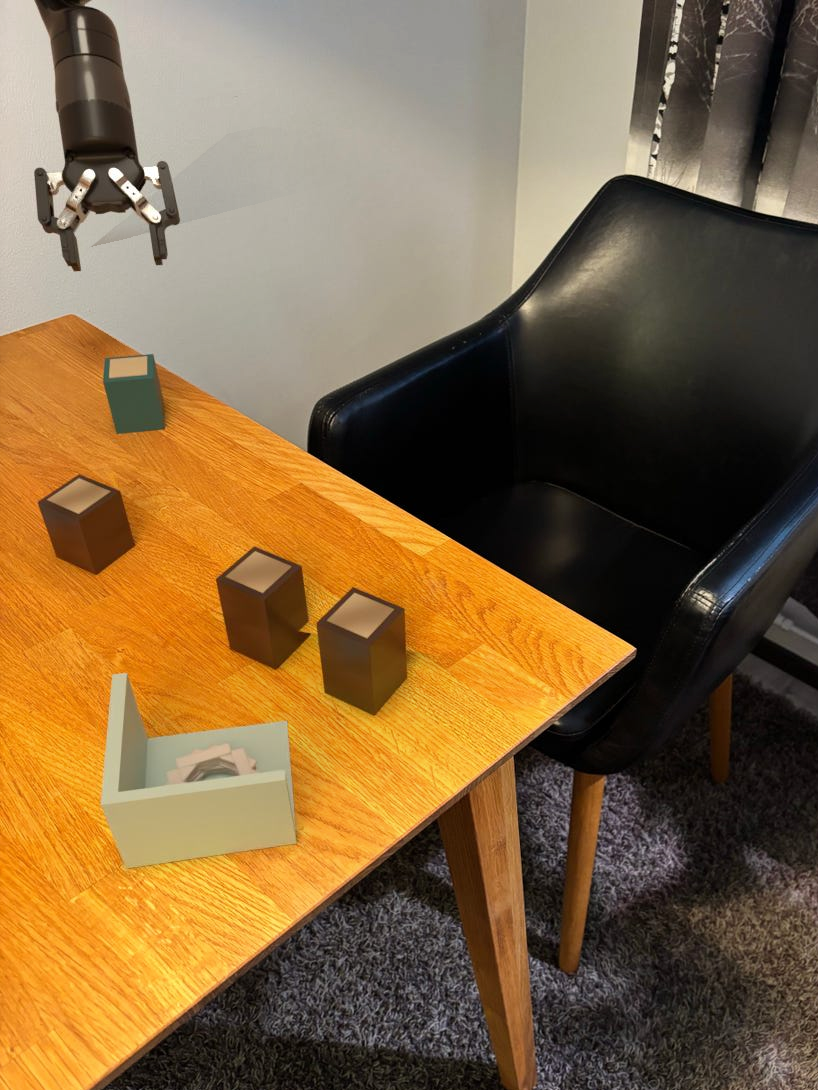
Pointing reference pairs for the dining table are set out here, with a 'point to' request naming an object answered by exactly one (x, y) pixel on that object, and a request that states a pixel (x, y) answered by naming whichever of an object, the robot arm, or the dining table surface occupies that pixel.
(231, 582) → the walnut block
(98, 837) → the dining table surface
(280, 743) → the l-shaped corner panel
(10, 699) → the dining table surface
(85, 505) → the walnut block
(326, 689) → the walnut block
